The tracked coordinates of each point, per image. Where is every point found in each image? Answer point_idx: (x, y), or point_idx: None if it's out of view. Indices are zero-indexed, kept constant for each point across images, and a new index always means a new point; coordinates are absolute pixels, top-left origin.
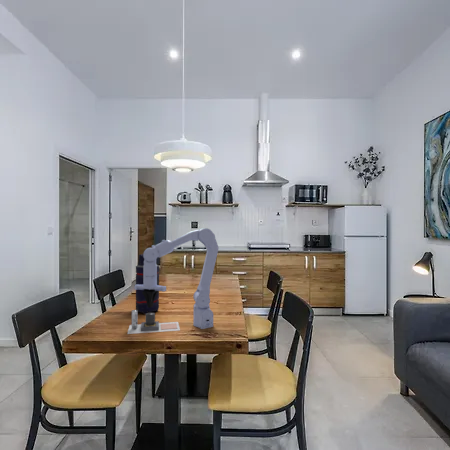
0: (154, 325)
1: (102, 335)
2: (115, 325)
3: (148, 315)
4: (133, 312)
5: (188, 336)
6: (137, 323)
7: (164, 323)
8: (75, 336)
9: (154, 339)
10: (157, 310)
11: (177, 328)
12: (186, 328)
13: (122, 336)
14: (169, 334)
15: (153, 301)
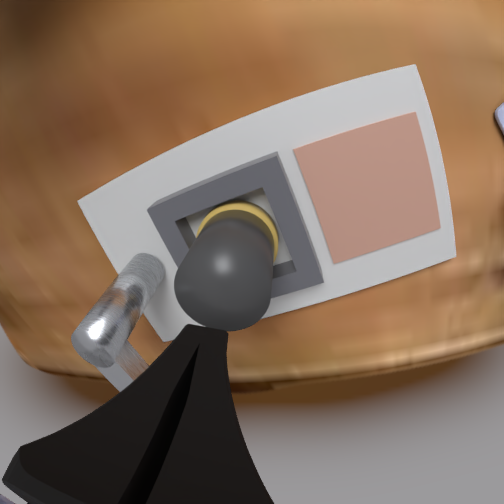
0: (277, 252)
1: (67, 329)
2: (15, 193)
3: (224, 327)
4: (121, 389)
5: (484, 302)
6: (149, 278)
7: (316, 112)
8: (12, 335)
9: (327, 361)
10: None
11: (440, 225)
12: (481, 176)
13: (149, 340)
14: (395, 293)
15: (226, 381)
